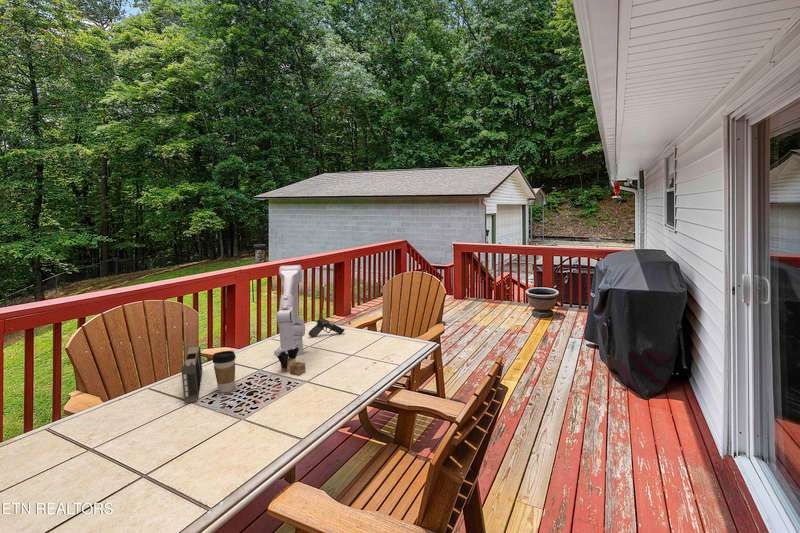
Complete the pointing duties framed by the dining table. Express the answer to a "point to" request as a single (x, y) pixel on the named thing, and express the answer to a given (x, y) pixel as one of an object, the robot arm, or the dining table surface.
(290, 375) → the board
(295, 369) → the walnut block
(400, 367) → the dining table surface
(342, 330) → the handgun
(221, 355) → the coffee cup
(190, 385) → the graphics card
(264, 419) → the dining table surface
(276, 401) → the dining table surface
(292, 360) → the maple block
